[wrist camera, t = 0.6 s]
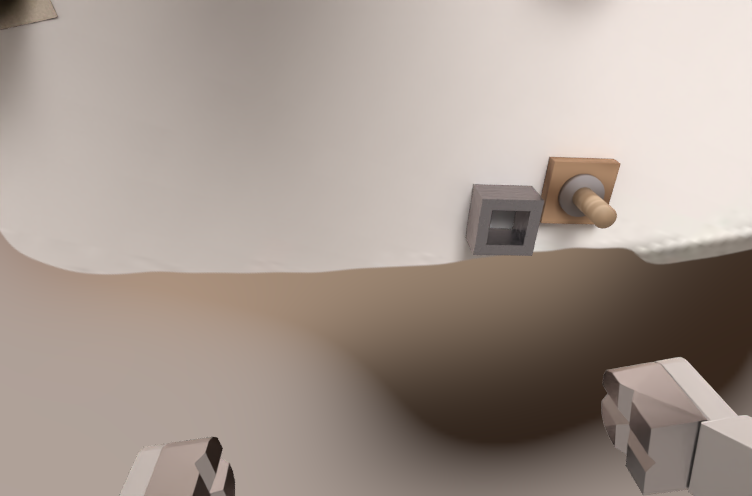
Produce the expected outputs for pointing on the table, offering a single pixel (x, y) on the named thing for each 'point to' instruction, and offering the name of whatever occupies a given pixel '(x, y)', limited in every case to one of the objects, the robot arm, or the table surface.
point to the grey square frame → (503, 240)
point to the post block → (579, 191)
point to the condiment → (24, 12)
